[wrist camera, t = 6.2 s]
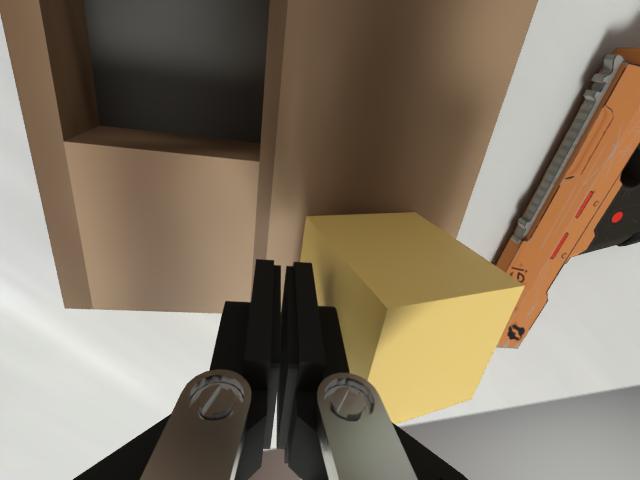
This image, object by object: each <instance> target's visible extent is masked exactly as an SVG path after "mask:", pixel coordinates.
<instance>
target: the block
mask: <svg viewBox="0 0 640 480" xmlns="http://www.w3.org/2000/svg"><path fill="white" fill-rule="evenodd" d="M300 262H306V263H312V267H313V274H314V281H315V288H316V295H317V302H318V306H330V307H335V308H336V310H337V314H338V319H339V324H340V328H341V333H342V338H343V343H344V347H345V352H346V357H347V362H348V366H349V371H350V373H351V374H355V375H358V376H360V377H362V378H364V379H366V380H367V381H368V382H369V383H371V384H372V385H373V386H374V387H375V389H376V390H377V392H378V394H379V395H380V398H381V400H382V402H383V404H384V406H385V409H386V411H387V413H388V415H389V417H390V420H391V422H392V423H394V424H398V423H401V422H404V421H407V420H410V419H413V418H416V417H419V416H422V415H425V414H428V413H431V412H434V411H438V410H441V409H444V408H447V407H450V406H453V405H456V404H459V403H462V402H465V401H468V400H471V399H472V397H473V395H474V393H475V390H476V388H477V386H478V384H479V382H480V380H481V378H482V376H483V374H484V371H485V369H486V367H487V365H488V363H489V361H490V359H491V357H492V355H493V352H494V350H495V348H496V346H497V344H498V342H499V340H500V338H501V336H502V333H503V331H504V329H505V327H506V325H507V323H508V321H509V319H510V316H511V314H512V312H513V310H514V308H515V306H516V304H517V302H518V300H519V297H520V295H521V293H522V291H523V289H524V287H525V285H523V284H522V283H520V282H519V281H517V280H516V279H514V278H513V277H511V276H510V275H508V274H507V273H505V272H504V271H502V270H501V269H499V268H498V267H496V266H495V265H493V264H492V263H490V262H489V261H487V260H486V259H484V258H483V257H481V256H480V255H479V254H477V253H476V252H474V251H473V250H471V249H470V248H468V247H467V246H465V245H464V244H462V243H461V242H459V241H458V240H456V239H455V238H453V237H452V236H450V235H449V234H447V233H446V232H444V231H443V230H441V229H440V228H438V227H437V226H435V225H434V224H432V223H431V222H429V221H428V220H426V219H425V218H423V217H422V216H420V215H419V214H417V213H416V212H404V213H378V214H352V215H326V216H306V221H305V229H304V236H303V244H302V251H301V258H300Z"/></svg>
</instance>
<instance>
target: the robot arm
mask: <svg viewBox="0 0 640 480" xmlns="http://www.w3.org/2000/svg"><path fill="white" fill-rule="evenodd" d="M276 396H277V449H285V463H288V466H289V467H290V468H291V469H292V470H293V471H294V472H295V473H296V474H297V475H298V476H299V477H300V480H468V479H467V478H466V477H465V476H464V475H462V474H461V473H460V472H458V471H457V470H456V469H454V468H453V467H452V466H450V465H449V464H448V463H446V462H445V461H443V460H442V459H441V458H439V457H438V456H437V455H435V454H434V453H432V452H431V451H430V450H428V449H427V448H426V447H425V446H423V445H422V444H421V443H419V442H418V441H417V440H415V439H414V438H413V437H411V436H410V435H408V434H407V433H406V432H405V431H403V430H402V429H401V428H399V427H398V426H396V425H395V424H394V423H392V422H391V420H390V417H389V415H388V413H387V411H386V409H385V406H384V404H383V402H382V400H381V398H380V395H379V394H378V392H377V390H376V389H375V387H374V386H373V385H372V384H371V383H369V382H368V381H367V380H366V379H364V378H362V377H360V376H358V375H355V374H351V373H350V371H349V366H348V362H347V357H346V352H345V347H344V343H343V338H342V333H341V328H340V324H339V319H338V314H337V310H336V308H335V307H330V306H318V302H317V295H316V288H315V281H314V274H313V267H312V263H306V262H294V263H293V266H286V273H285V282H284V291H283V300H282V308H281V265H274V260H264V259H256V264H255V272H254V280H253V289H252V297H251V302H237V301H225V304H224V308H223V313H222V317H221V322H220V326H219V330H218V335H217V339H216V344H215V348H214V353H213V357H212V362H211V366H210V371H206V372H204V373H202V374H200V375H198V376H196V377H195V378H193V379H192V380H191V381H190V382H188V384H187V385H186V387H185V388H184V389H183V391H182V393H181V395H180V397H179V399H178V401H177V403H176V405H175V407H174V409H173V412H172V414H170V415H169V416H167V417H166V418H164V419H163V420H161V421H160V422H158V423H157V424H155V425H154V426H152V427H151V428H149V429H148V430H146V431H145V432H143V433H142V434H140V435H139V436H137V437H136V438H134V439H133V440H131V441H130V442H128V443H127V444H125V445H124V446H122V447H121V448H119V449H118V450H116V451H115V452H113V453H112V454H110V455H109V456H107V457H106V458H104V459H103V460H101V461H100V462H98V463H97V464H95V465H94V466H92V467H91V468H89V469H88V470H86V471H85V472H83V473H82V474H80V475H79V476H77V477H76V478H74V479H73V480H248V479H249V478H250V477H251V476H252V475H253V474H254V473H255V472H256V471H257V470H258V469H259V468H260V467H261V462H262V453H263V449H270V445H271V437H272V429H273V421H274V413H275V404H276Z"/></svg>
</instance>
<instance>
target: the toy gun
mask: <svg viewBox="0 0 640 480" xmlns="http://www.w3.org/2000/svg"><path fill="white" fill-rule="evenodd" d="M591 81H594V82H593V84H592V86H591V88H590V90H586V91H585V93H584V94H583V96H584V98H585V99H584V101H583V103H582V105H581V107H580V109H579V111H578V113H577V115H576V117H575V119H574V121H573V123H572V124H571V126H570V128H569V130H568V132H567V134H566V136H565V137H564V139H563V141H562V143H561V145H560V147H559V149H558V151H557V152H556V154H555V156H554V158H553V160H552V162H551V163H550V165H549V167H548V169H547V171H546V172H545V174H544V176H543V178H542V180H541V182H540V184H539V186H538V187H537V189H536V191H535V193H534V195H533V197H532V199H531V201H530V202H529V204H528V206H527V208H526V210H525V212H524V214H523V215H522V217H519V219H518V225H517V227H516V229H515V230H514V232H513V233H512V235H511V237H510V239H509V241H508V243H507V245H506V247H505V249H504V250H503V252H502V254H501V256H500V258H499V260H498V262H497V264H496V265H495V266H496V267H498V268H499V269H501V270H502V271H504V272H505V273H507V274H508V275H510V276H511V277H513V278H514V279H516V280H517V281H519V282H520V283H522V284H523V285H525V287H524V289H523V291H522V293H521V295H520V297H519V300H518V302H517V304H516V306H515V308H514V310H513V312H512V314H511V316H510V319H509V321H508V323H507V325H506V327H505V329H504V331H503V333H502V336H501V338H500V340H499V342H498V344H497V346H496V347H497V348H515V349H518V347H519V346H520V344H521V343H522V341H523V340H524V338H525V336H526V335H527V333H528V332H529V330H530V328H531V327H532V325H533V324H534V322H535V320H536V319H537V317H538V316H539V314H540V313H541V311H542V309H543V308H544V306H545V305H546V303H547V301H548V297H547V291H548V290H549V288H550V286H551V285H552V283H553V282H554V280H555V278H556V277H557V275H558V273H559V272H560V270H561V269H562V267H563V266H564V264H566V263H567V262H568V261H569V259H570V258H571V257H573V256H577V255H580V254H584V253H588V252H592V251H595V250H599V249H603V248H607V247H610V246H614V245H617V246H627V245H630V244H634V243H637V242H640V48H616V50H615V51H614V53H613V55H611V54H608V55H605V56H604V58H603V62H602V67H601V69H600V71H599V73H598V74H595V75H593V77H592V79H591Z"/></svg>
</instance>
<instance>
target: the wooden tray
mask: <svg viewBox="0 0 640 480" xmlns="http://www.w3.org/2000/svg"><path fill="white" fill-rule="evenodd" d="M537 2H538V0H0V14H1V19H2V23H3V28H4V32H5V37H6V42H7V46H8V51H9V55H10V60H11V64H12V69H13V74H14V78H15V83H16V87H17V92H18V96H19V101H20V106H21V110H22V115H23V119H24V124H25V128H26V133H27V138H28V142H29V147H30V151H31V156H32V160H33V165H34V170H35V174H36V179H37V183H38V188H39V192H40V197H41V202H42V206H43V211H44V215H45V220H46V224H47V229H48V234H49V238H50V243H51V247H52V252H53V256H54V261H55V266H56V270H57V275H58V279H59V284H60V288H61V293H62V298H63V302H64V307H65V308H71V309H102V310H133V311H164V312H194V313H223V308H224V304H225V301H237V302H251V297H252V289H253V280H254V272H255V264H256V259H264V260H274V265H281V308H282V300H283V291H284V282H285V273H286V266H293V263H294V262H300V258H301V251H302V244H303V236H304V229H305V221H306V216H326V215H352V214H378V213H404V212H416V213H417V214H419V215H420V216H422V217H423V218H425V219H426V220H428V221H429V222H431V223H432V224H434V225H435V226H437V227H438V228H440V229H441V230H443V231H444V232H446V233H447V234H449V235H450V236H452V237H453V238H455V239H456V238H457V235H458V232H459V229H460V226H461V223H462V220H463V217H464V214H465V211H466V209H467V206H468V203H469V200H470V197H471V194H472V191H473V188H474V185H475V182H476V179H477V177H478V174H479V171H480V168H481V165H482V162H483V159H484V156H485V153H486V150H487V148H488V145H489V142H490V139H491V136H492V133H493V130H494V127H495V124H496V121H497V118H498V116H499V113H500V110H501V107H502V104H503V101H504V98H505V95H506V92H507V89H508V86H509V84H510V81H511V78H512V75H513V72H514V69H515V66H516V63H517V60H518V57H519V54H520V52H521V49H522V46H523V43H524V40H525V37H526V34H527V31H528V28H529V25H530V23H531V20H532V17H533V14H534V11H535V8H536V5H537Z"/></svg>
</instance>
